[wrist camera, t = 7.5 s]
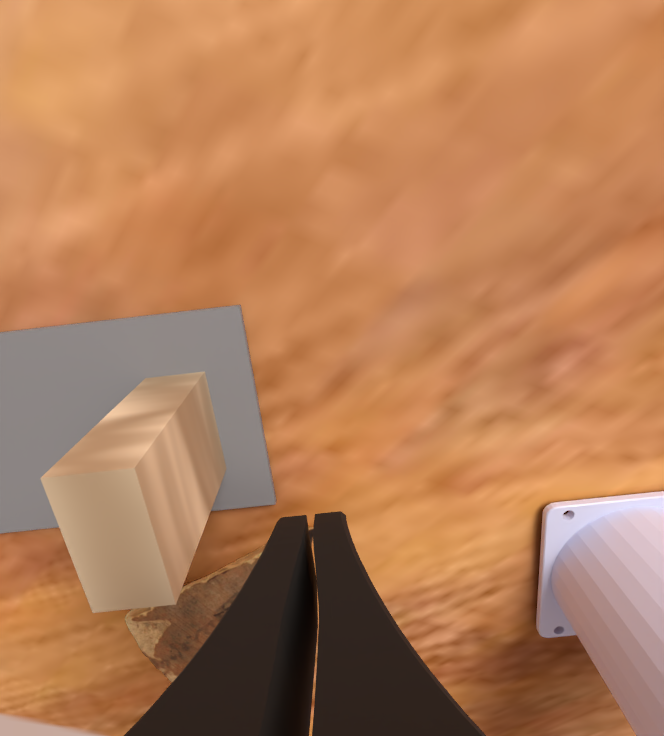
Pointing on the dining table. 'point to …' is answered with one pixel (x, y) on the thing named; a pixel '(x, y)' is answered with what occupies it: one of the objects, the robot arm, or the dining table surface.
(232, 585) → the shard
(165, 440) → the beech block
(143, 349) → the felt mat
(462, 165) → the dining table surface
